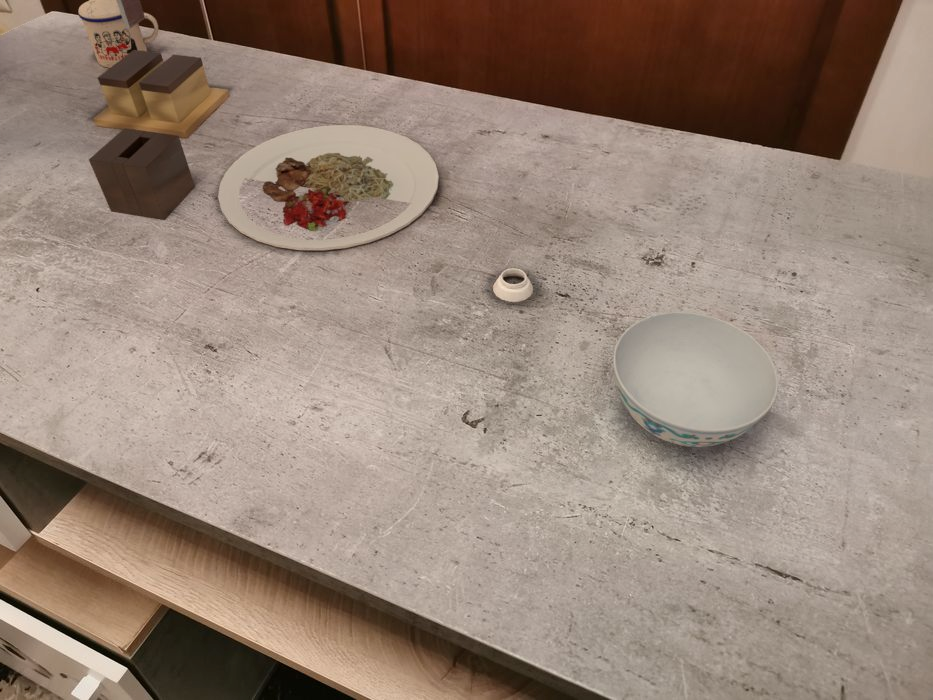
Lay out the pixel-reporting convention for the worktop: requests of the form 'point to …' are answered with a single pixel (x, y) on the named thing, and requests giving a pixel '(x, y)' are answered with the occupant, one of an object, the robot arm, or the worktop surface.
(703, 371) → the chinaware
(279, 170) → the plated food
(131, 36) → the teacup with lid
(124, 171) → the knife block
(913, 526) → the worktop surface
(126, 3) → the cake knife
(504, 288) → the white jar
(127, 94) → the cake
